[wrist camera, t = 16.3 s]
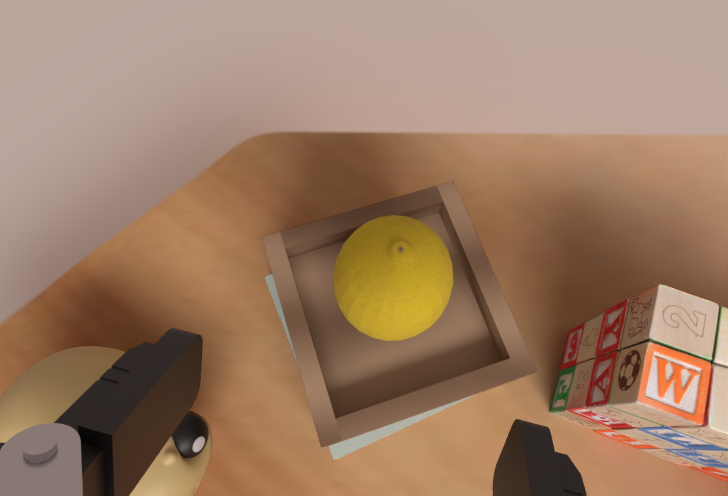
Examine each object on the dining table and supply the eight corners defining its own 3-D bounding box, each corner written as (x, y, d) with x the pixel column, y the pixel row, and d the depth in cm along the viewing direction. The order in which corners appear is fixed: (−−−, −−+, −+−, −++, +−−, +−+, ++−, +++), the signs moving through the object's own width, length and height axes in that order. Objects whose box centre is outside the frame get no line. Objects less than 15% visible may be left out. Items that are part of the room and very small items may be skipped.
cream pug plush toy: (176, 567, 32) (93, 625, 22) (20, 473, 33) (-123, 487, 23) (257, 416, 35) (217, 407, 25) (111, 337, 37) (19, 299, 27)
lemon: (340, 249, 29) (339, 180, 21) (438, 259, 29) (472, 193, 21) (328, 348, 27) (323, 310, 19) (434, 358, 27) (470, 324, 19)
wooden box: (501, 385, 31) (537, 371, 25) (328, 446, 30) (321, 447, 24) (436, 226, 35) (453, 180, 29) (279, 274, 33) (261, 237, 27)
